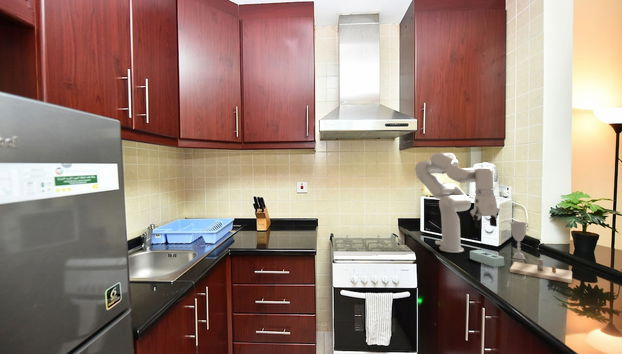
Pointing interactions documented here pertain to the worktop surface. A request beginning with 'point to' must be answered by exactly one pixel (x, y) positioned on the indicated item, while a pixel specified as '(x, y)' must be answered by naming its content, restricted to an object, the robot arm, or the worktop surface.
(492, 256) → the flange bar
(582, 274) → the worktop surface
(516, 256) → the chalice
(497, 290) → the worktop surface
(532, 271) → the post board
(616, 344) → the worktop surface
